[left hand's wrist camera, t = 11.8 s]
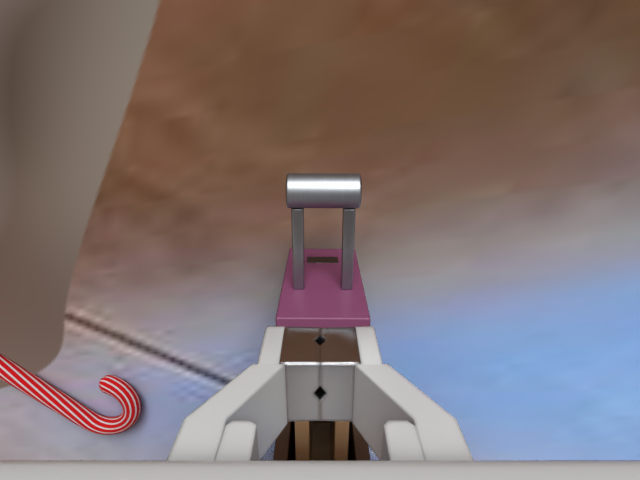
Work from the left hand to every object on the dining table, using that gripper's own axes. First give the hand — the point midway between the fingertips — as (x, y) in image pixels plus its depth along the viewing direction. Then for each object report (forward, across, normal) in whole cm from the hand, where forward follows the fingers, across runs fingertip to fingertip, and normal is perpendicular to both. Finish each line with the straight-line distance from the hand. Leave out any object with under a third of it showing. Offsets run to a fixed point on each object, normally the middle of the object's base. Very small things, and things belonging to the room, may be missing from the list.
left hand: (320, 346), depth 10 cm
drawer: (+15, 0, +8) cm, 17 cm away
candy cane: (+16, +22, +15) cm, 31 cm away
